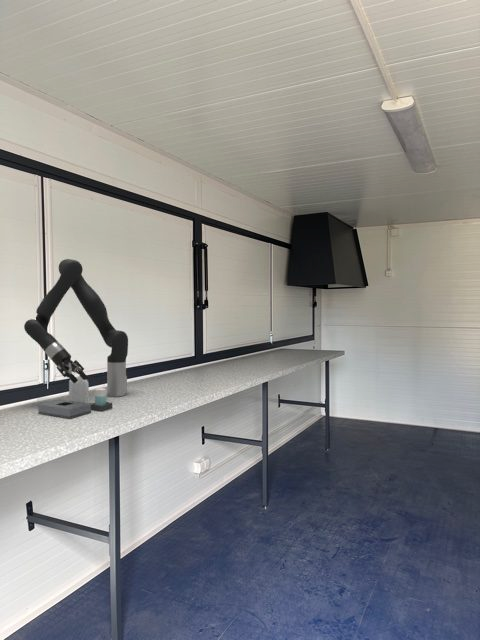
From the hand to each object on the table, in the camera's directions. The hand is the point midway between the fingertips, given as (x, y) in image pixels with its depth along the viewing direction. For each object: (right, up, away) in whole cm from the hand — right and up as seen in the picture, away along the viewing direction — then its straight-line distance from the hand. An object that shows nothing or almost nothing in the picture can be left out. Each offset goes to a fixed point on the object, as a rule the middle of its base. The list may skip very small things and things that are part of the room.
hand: (81, 380), depth 205 cm
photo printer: (-5, -12, +9) cm, 16 cm away
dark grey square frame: (+9, -13, -1) cm, 16 cm away
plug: (+9, -13, -1) cm, 16 cm away
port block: (-4, -13, -10) cm, 16 cm away
